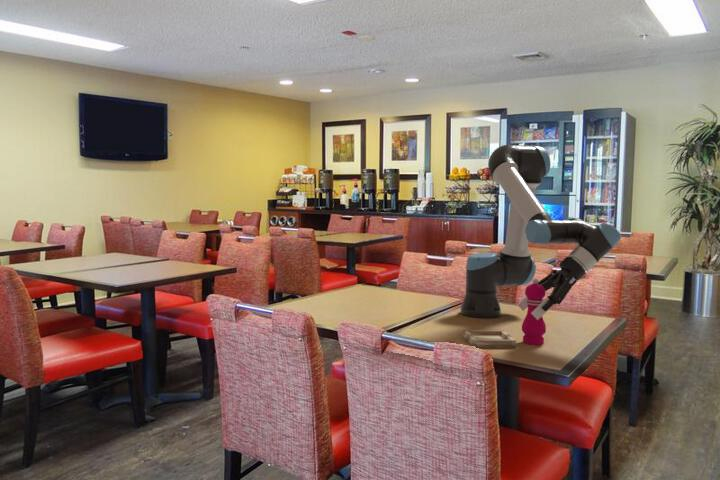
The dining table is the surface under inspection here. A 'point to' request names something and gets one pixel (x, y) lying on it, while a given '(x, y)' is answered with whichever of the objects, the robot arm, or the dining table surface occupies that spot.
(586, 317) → the dining table surface
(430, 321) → the dining table surface
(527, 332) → the pepper mill
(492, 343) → the tray
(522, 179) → the robot arm
